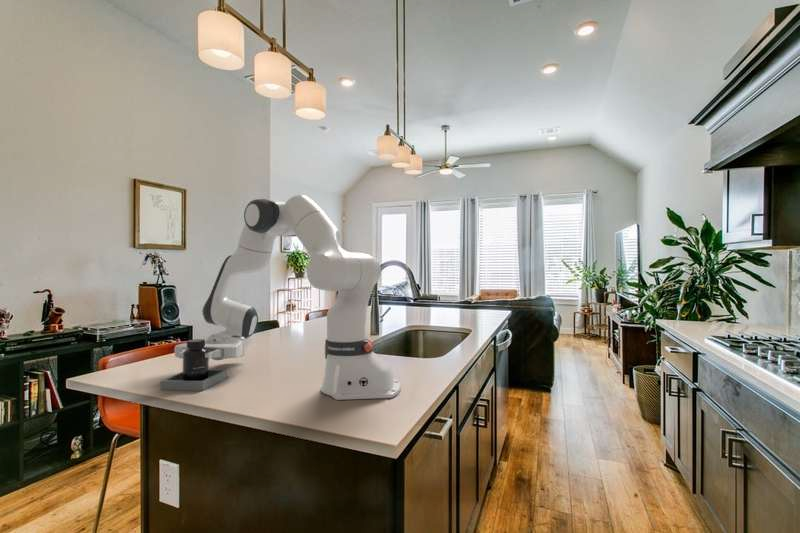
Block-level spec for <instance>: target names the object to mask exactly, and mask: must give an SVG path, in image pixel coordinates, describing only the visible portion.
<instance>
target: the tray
mask: <svg viewBox="0 0 800 533" xmlns="http://www.w3.org/2000/svg"><path fill="white" fill-rule="evenodd" d="M227 378H228V369H219V368H218V369H214V368H211V369H210V368H209V377H208V378H207V379H205V380H203V381H183V371H180V372H178V373H176V374H173V375H171V376H169V377H166V378H164V379H162V380H160V390H164V391H190V392H191V391H195V392H196V391H197V392H203V391H206V390H207V389H210V388H211V387H213V386H215V385H217V384H219V383H220V382H222V381H224V380H226V379H227Z"/></svg>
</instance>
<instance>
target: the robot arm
mask: <svg viewBox="0 0 800 533" xmlns="http://www.w3.org/2000/svg"><path fill="white" fill-rule="evenodd" d="M243 218H244V222H245V223H244V225H243V228H242V230H241V231H240V232H241V233H240V236H239V238H238V244H237V248H236V250H235V251H234V252H233V253H232V254H231V255H228V256H226V258H225V260H223V263H222V264H221V267H220V269H219V271H218V274H217V276H216V279H215V282H214V284H213V287H212V289H211V291H210V294H209V296H208V298H207V300H205V303H204V305H203V307H202V311H201V312H202V316H203V319H204V321H205V322H206V323H207V324H211V325H215V326H220V327H222V328H225V330H223V331H219V332H217V333H213V334H211V335H209V337H208V338H207V339H206V340H205V346H204V348H206V349H207V350H208V351H209V352H207V353H205V359H209V360H211V359H212V360H214V361H222V360H224V359H225V360H226V359H236V358H242V357H244V356H245V355H246V349H247V348H248V347H249V346H250V345H251V344H252V342H253V339H254V333H255V332H256V330H257V327H258V322H259V316H258V312H257V310H256V308H255V307H253V306H250V305H248V304H244V303H243V302H242V303H241V302H238V301H235V300H232V299H229V297H228V295H227V294H228V293H229V290H230V287H231V284H232V283H233V280H234V278H235V277H236V276H237V275H239V274H251V273H252V274H253V273H257V272H261V271H262V270H264V269H265V268H266V267H267V266H268V265H269V264H270V261H271V258H272V253H273V249H274V243H275V240H276V238H277V237H297V239H298V241H300V243H301V244H302V246H303V247H304V249H305V250H306V252H307V253H308V256H309V260H308V263H307V266H306V276H307V279H308V282H309V284H310V286H312V287H313V288H315V289H317V290H320V291H327V292H337V295H336V298H335V300H334V302H333V304H332V305H331V306H330V307H329V308H328V311H327V313H326V339H325V342H324V358H325V368H324V375H323V381H322V385H321V387H320V391H321V392H322V393H323V394H324V395H327V396H330V397H332V398H333V399H334V400H336V401H337V400H339V401H342V400H364V399H365V400H367V399H371V400H372V399H390V398H391V399H392V398H394V397H396V396H397V395H398V394H399V393H400V392H401V388H402V387H401V382H400V381H399V380H398V379H396V378H394V375H393V371H392V368H391V365H390V363H389V362H387V361H385V359H383V357H382V358H381V357H380V356H379V355H377V354H376V353H375V352H374V343H373V342H374V341H373V339H369V338H367V313H368V312H367V311H368V305H369V302H370V301H369V300H370V298H371V295H372V292H373V290H374V287H375V285H376V284H377V283H378V282H379V280H380V278H381V274H382V267H381V263H380V261H379V260H378V259H377V258H376V257H374V256H372V255H371V254H368V253H364V252H357V251H347V250H345V249H344V248H343V247H342V246H341V244H340V239H341V232H340V229H338V228H337V226H336V225H335V223H333V221H332V220H331V219H330V218H329V216H328V214H326V213H325V211H324V210H323V209H322V208H321V207H320V206H319V204H317V203H316V202H315V201H314V200H313V199H311V198H310V197H309V196H307V195H305V194H295V195H293V196H292V197H290V198H288V200H286V202H284V201H281V200H275V199H274V200H273V199H271V200H270V199H266V198H258V199H252V200H251V201H250V202H248V204H247V205H246V206H245V209H244V213H243ZM187 349H188V348H187V342H184V343H180V344H177V345H175V346H174V356H175V358H178V359H183V353H184V351H185V350H187ZM399 391H400V392H399Z"/></svg>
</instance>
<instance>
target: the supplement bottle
mask: <svg viewBox="0 0 800 533" xmlns="http://www.w3.org/2000/svg"><path fill="white" fill-rule="evenodd" d="M205 342H206V340H205V339H203V338H198V339H197V338H196V339H195V338H194V339H189V340H187V341H186V343H187V348H188V349H187V350H185V351H184V353H183V358H182V372H183V381H203V380H205V379H207V378H208V377H209V369H210V364H209V363H210V362H209V361H210V359H205V353H207V352H209V351H208V350H207V349H206V348H204V346H205Z"/></svg>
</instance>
